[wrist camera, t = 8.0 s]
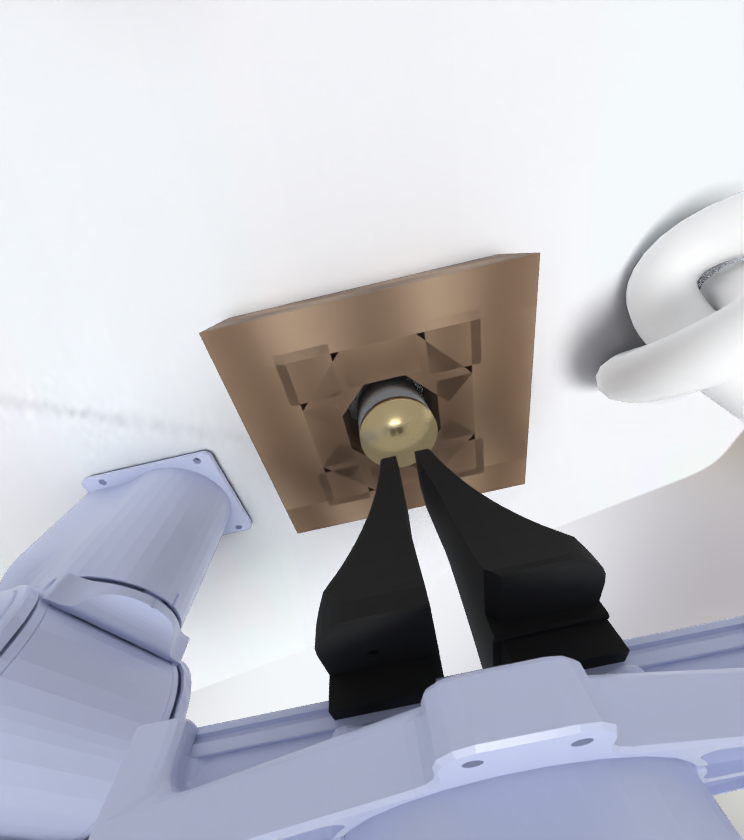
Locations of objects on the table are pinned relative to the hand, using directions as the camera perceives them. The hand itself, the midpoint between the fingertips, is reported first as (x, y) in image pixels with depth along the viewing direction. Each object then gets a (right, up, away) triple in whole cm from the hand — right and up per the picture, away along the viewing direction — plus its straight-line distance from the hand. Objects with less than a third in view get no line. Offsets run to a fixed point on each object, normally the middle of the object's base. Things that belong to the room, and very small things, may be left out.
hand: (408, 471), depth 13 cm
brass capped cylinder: (-1, +4, +7) cm, 8 cm away
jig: (-1, +4, +7) cm, 8 cm away
